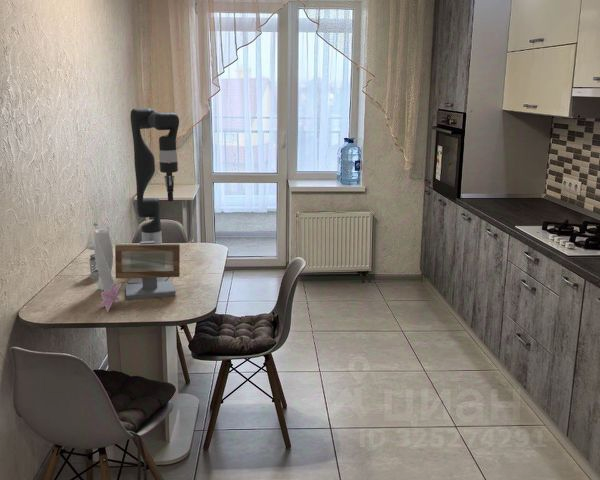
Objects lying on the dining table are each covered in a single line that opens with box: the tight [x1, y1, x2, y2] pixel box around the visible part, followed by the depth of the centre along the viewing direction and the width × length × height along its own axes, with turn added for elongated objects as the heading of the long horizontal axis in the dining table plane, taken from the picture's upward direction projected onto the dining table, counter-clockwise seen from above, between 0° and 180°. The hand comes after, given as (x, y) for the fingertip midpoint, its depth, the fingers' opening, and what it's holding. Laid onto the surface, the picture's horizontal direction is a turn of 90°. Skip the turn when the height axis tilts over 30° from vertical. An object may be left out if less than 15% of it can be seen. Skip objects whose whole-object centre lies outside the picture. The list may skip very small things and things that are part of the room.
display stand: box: [125, 241, 176, 300], centre depth 270 cm, size 16×20×22 cm
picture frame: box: [114, 243, 181, 280], centre depth 267 cm, size 2×26×14 cm, turn 105°
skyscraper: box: [93, 225, 116, 291], centre depth 273 cm, size 8×8×28 cm
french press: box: [87, 222, 99, 280], centre depth 294 cm, size 10×12×25 cm
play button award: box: [126, 277, 170, 284], centre depth 292 cm, size 16×2×20 cm
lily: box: [100, 282, 122, 313], centre depth 252 cm, size 12×12×10 cm
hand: (170, 200), depth 276 cm, fingers closed
